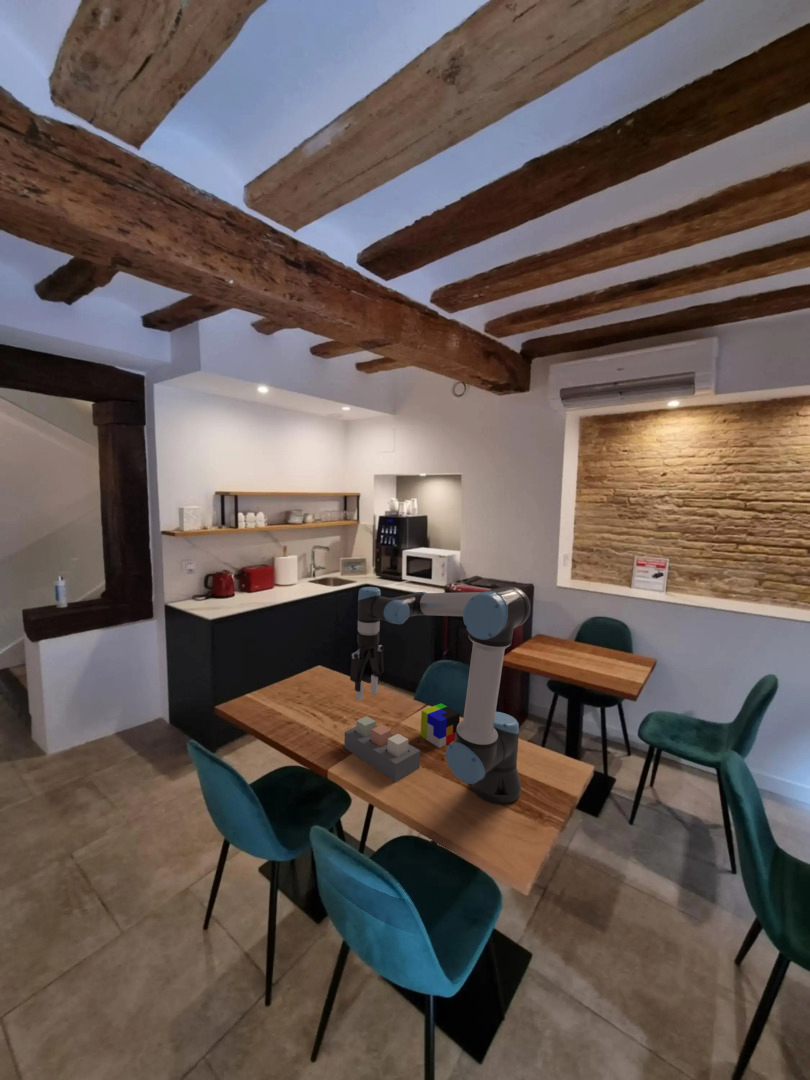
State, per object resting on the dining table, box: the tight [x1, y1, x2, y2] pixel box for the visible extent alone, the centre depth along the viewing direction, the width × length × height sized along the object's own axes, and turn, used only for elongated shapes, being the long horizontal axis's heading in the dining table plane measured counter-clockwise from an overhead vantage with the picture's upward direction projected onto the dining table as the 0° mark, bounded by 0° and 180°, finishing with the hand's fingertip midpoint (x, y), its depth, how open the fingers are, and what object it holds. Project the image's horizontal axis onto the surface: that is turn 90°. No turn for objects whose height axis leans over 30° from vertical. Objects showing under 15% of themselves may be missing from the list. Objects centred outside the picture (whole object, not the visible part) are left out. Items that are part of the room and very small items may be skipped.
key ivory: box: [387, 733, 409, 758], centre depth 148 cm, size 5×5×8 cm
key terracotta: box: [371, 724, 393, 748], centre depth 154 cm, size 5×5×8 cm
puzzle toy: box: [420, 702, 461, 748], centre depth 168 cm, size 10×10×10 cm
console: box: [343, 725, 421, 783], centre depth 154 cm, size 26×11×6 cm, turn 45°
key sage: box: [355, 715, 377, 738], centre depth 160 cm, size 5×5×8 cm
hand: (366, 696), depth 158 cm, fingers open, 6 cm apart
